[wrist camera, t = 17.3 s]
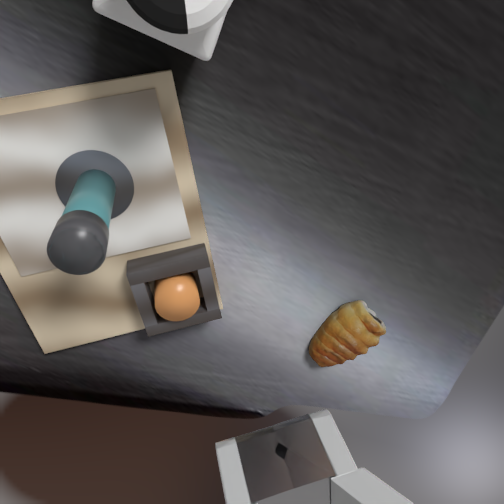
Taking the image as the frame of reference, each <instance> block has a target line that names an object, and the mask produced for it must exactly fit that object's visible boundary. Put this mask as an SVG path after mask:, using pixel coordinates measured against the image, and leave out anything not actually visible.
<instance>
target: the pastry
mask: <svg viewBox="0 0 504 504" xmlns="http://www.w3.org/2000/svg"><path fill="white" fill-rule="evenodd" d="M385 328H386V327H385V325H384V323H383V322H382V321H381V320H380V319H378V318H377V317H376V314H375V313H374V312H373V311H372V310H371V309H369V308H367V304H366V303H365V302H364V301H362V300H358V301H354V302H349V303H346V304H343V305H341V306H340V308H339V309H338V310H337V311H335V312H333V313H332V314H331V315H330V316H329V317H328V318H327V319H326V321H325V322H324V323H323V324H322V326H321V327H320V328H319V330H318V331H317V332H316V333H315V335H314V336H313V338H312V339H311V343H310V346H309V354H310V356H311V357H312V359H313V360H314V361H315V362H316V363H317V364H318V365H319V366H320V367H325V366H333V365H336V364H343V363H344V362H345V361H346V360H354V359H355V357H356V356H357V355H361V354H366V353H367V351H368V348H369V347H372V346H376V345H378V343H379V337H380V336H381V335H384V334H385V333H386V330H385Z"/></svg>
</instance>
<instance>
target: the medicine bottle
mask: <svg viewBox="0 0 504 504" xmlns="http://www.w3.org/2000/svg"><path fill="white" fill-rule="evenodd" d="M232 1H233V0H93V2H92V6H93V8H94V10H95V11H96V12H97V13H99V14H101V15H104V16H106V17H108V18H110V19H113V20H115V21H117V22H119V23H121V24H124V25H126V26H128V27H130V28H133V29H135V30H137V31H139V32H142V33H144V34H146V35H148V36H150V37H153V38H155V39H157V40H159V41H162V42H164V43H166V44H168V45H170V46H173V47H175V48H177V49H179V50H182V51H184V52H186V53H188V54H190V55H193V56H195V57H197V58H199V59H202V60H204V61H208V60H210V58H211V57H212V54H213V51H214V48H215V45H216V42H217V39H218V36H219V33H220V31H221V28H222V25H223V22H224V19H225V16H226V13H227V10H228V9H229V7H230V5H231V3H232Z"/></svg>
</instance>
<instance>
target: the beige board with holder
mask: <svg viewBox="0 0 504 504" xmlns="http://www.w3.org/2000/svg"><path fill="white" fill-rule="evenodd" d="M92 169H97V170H101V171H104V172H106V173H107V174H109V175H110V176H111V177H112V179H113V180H114V182H115V186H116V192H115V197H114V203H113V208H112V214H111V220H110V225H109V240H108V246H107V252H106V258H105V260H104V262H103V264H102V265H101V266H100V267H99V268H98V269H97V270H95V271H94V272H91V273H89V274H84V275H72V274H68V273H65V272H63V271H61V270H59V269H58V268H56V267H55V266H54V265H53V264H52V262H51V261H50V259H49V258H48V255H47V243H48V241H49V238H50V236H51V234H52V232H53V230H54V227H55V225H56V223H57V221H58V220H59V218H60V217H61V216H62V214H63V211H64V209H65V207H66V205H67V202H68V200H69V198H70V196H71V193H72V191H73V189H74V186H75V184H76V182H77V180H78V178H79V176H80V175H81V174H82V173H83V172H85V171H87V170H92ZM187 272H191V273H192V274H193V275H194V277H195V279H196V283H197V288H198V293H199V298H200V305H199V308H198V310H197V311H196V313H195V314H194V315H193V316H191V317H190V318H188V319H186V320H182V321H169V320H166V319H164V318H162V317H161V316H160V315H159V314H158V313H157V311H156V309H155V296H154V283H155V280H158V279H162V278H166V277H171V276H175V275H179V274H183V273H187ZM0 273H1V275H2V277H3V279H4V281H5V282H6V284H7V286H8V288H9V290H10V291H11V293H12V295H13V297H14V299H15V301H16V302H17V304H18V306H19V308H20V310H21V312H22V313H23V315H24V317H25V319H26V321H27V322H28V324H29V326H30V328H31V330H32V332H33V333H34V335H35V337H36V339H37V341H38V342H39V344H40V346H41V348H42V350H43V352H44V353H45V354H46V353H50V352H54V351H58V350H62V349H66V348H70V347H74V346H78V345H82V344H86V343H90V342H94V341H98V340H102V339H106V338H110V337H114V336H118V335H122V334H125V333H129V332H133V331H137V330H141V329H146V332H147V335H148V337H149V336H153V335H157V334H161V333H165V332H169V331H173V330H177V329H181V328H185V327H188V326H192V325H196V324H200V323H204V322H208V321H212V320H216V319H220V318H222V316H221V312H220V309H223V306H222V301H221V297H220V292H219V288H218V283H217V278H216V274H215V269H214V264H213V260H212V255H211V251H210V246H209V241H208V237H207V232H206V227H205V223H204V218H203V214H202V209H201V204H200V200H199V195H198V191H197V186H196V181H195V177H194V172H193V167H192V163H191V158H190V154H189V149H188V144H187V140H186V135H185V131H184V126H183V121H182V117H181V112H180V107H179V103H178V98H177V94H176V89H175V84H174V80H173V75H172V70H171V69H169V70H163V71H158V72H152V73H146V74H140V75H134V76H128V77H122V78H117V79H111V80H105V81H99V82H93V83H87V84H81V85H76V86H70V87H64V88H58V89H52V90H46V91H40V92H35V93H29V94H23V95H17V96H11V97H5V98H0Z"/></svg>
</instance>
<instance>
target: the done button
mask: <svg viewBox="0 0 504 504" xmlns="http://www.w3.org/2000/svg"><path fill="white" fill-rule="evenodd" d="M154 296H155V309H156V311H157V313H158V314H159V315H160V316H161V317H162V318H164V319H166V320H169V321H182V320H186V319H188V318H190V317H191V316H193V315H194V314H195V313H196V311H197V310H198V308H199V305H200V298H199V293H198V288H197V283H196V279H195V277H194V275H193V274H192V273H191V272H187V273H183V274H179V275H175V276H171V277H166V278H162V279H158V280H155V283H154Z"/></svg>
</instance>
